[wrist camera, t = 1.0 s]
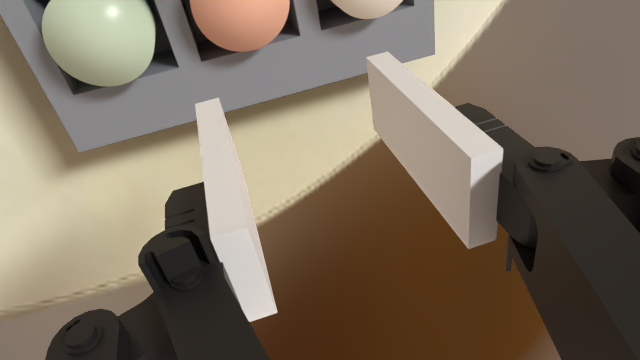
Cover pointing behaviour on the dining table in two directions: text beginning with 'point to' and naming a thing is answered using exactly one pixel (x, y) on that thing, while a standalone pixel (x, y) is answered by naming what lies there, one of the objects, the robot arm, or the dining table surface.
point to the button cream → (367, 7)
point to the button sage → (100, 38)
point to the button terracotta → (240, 21)
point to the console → (216, 64)
